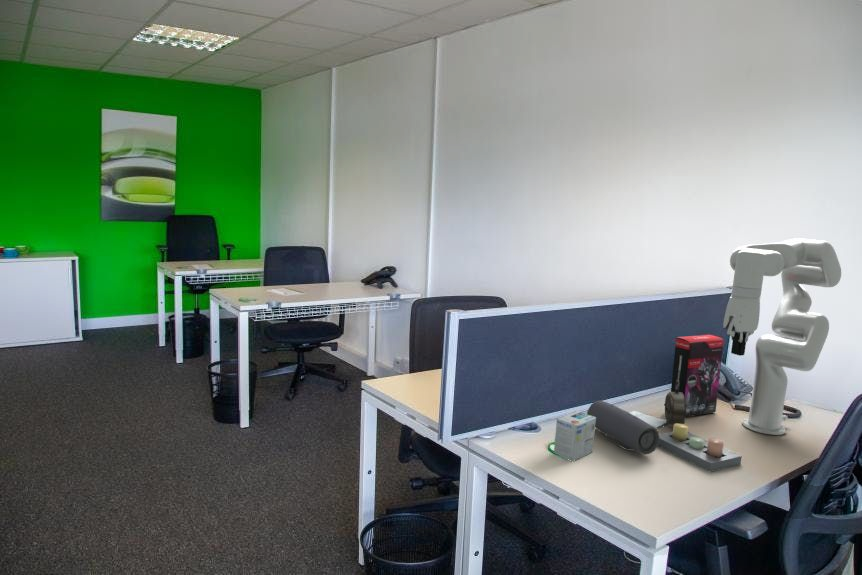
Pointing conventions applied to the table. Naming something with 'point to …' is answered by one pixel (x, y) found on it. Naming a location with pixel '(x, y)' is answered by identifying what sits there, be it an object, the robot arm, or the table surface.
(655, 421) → the external hard drive
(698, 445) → the green button
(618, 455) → the table surface
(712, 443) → the terracotta button
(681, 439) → the ochre button
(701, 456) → the button board
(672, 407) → the alarm clock
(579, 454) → the light bulb box
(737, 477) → the table surface
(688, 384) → the graphics card box
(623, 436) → the bluetooth speaker
